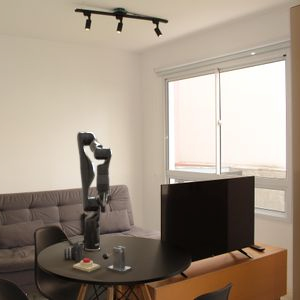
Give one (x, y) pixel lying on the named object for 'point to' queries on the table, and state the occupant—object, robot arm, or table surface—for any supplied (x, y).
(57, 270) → the table surface
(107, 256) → the lever handle
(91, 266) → the button block
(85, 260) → the button
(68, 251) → the camera
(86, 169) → the robot arm
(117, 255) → the base
